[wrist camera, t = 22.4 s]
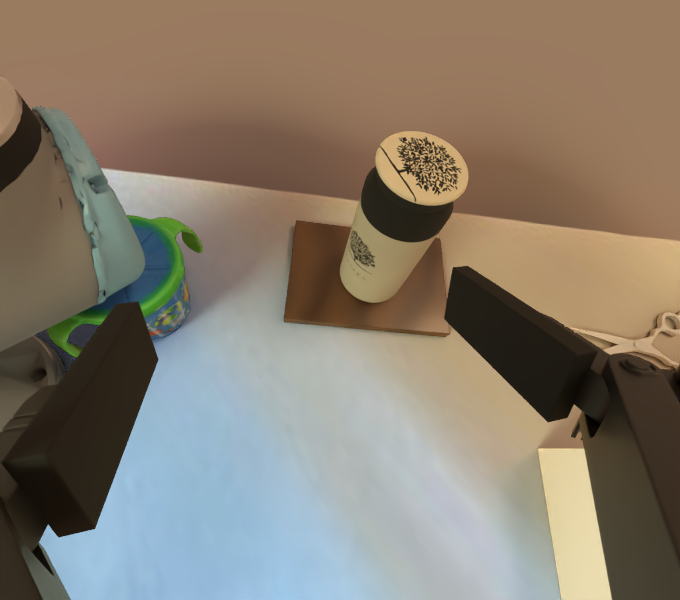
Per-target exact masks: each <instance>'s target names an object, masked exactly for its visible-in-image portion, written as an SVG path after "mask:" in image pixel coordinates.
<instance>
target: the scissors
mask: <svg viewBox="0 0 680 600" xmlns="http://www.w3.org/2000/svg"><path fill="white" fill-rule="evenodd" d="M666 317H668V318H670V319H672V320H673V321H674V322H675V324H676V329H671V328H670V327H668V326H667V325H666V322H665V318H666ZM657 325H658V326H657V328H656V329H652V330H650V335H649V337H646V338H642V339H637V340H629V339H625V338H621V337H617V336H613V335H608V334H603V333H597V332H592V331H587V330H582V329H576V328H571V329H574V330H577V331H580V332H583V333H586V334H589V335H592V336H594V337H598V338H601V339H604V340H607V341H610V342H612V343H615V344H619V345H616V346H613V347H610V348H607V349H603V351H605V352H607V353H608V354H617V353H625V352H632V351H636V352H639V353H643V354H647V355H650V356H653V357H656V358H658V359H660V360H661V361H662V362H663V363H664V364H665V365H668V366H673V367H674V368H675V369H677V367H678V366H679V364H680V363H677V362H674V361H672V360H670V359H669V358H667V357H666V356H664V355H663V354H662V353H660V352H659V351H658V350H657V349H656V348H654V347H653V346H651V344H652V342H653V341H654V339H655V338H656V336H657V334H658V333H659V332H666V333H668V334H669V335H671V336H674V335H677V334H680V311H679V312H678V314H677V315H676V314H674V313H671V312H667V313H663V314H660V315H659V316H658V318H657ZM568 328H569V327H568Z"/></svg>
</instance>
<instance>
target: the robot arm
mask: <svg viewBox="0 0 680 600" xmlns="http://www.w3.org/2000/svg"><path fill="white" fill-rule="evenodd" d="M144 267H145V257H144V253H143V250H142V247H141V245H140V242H139V240H138V238H137V236H136V234H135V232H134V229H133V227H132V225H131V223H130V221H129V219H128V217H127V215H126V213H125V211H124V209H123V207H122V206H121V204H120V202H119V200H118V198H117V196H116V195H115V193H114V191H113V190H112V188H111V187H110V186H109V185H108V181H107V179H106V177H105V176H104V174H103V172H102V170H101V168H100V166H99V164H98V162H97V160H96V158H95V157H94V155H93V153H92V151H91V150H90V148H89V146H88V145H87V143H86V141H85V140H84V138H83V137H82V135H81V133H80V132H79V130H78V129H77V127H76V126H75V124H74V123H73V122H72V120H71V119H70V118H69V117H68V115H67V114H66V113H64V112H63V111H61V110H60V109H57V108H44V107H42V106H40V107H34V108H32V111H31V109H30V108H29V107H28V105H27V104H26V103H25V101H24V100H23V99H22V98H21V96H20V95H19V93H18V92H17V91H16V89H15V88H14V87H13V86H12V84H11V83H10V82H9V81H8V80H6V79H5V78H4V77H2V76H1V75H0V600H71V599H70V597H69V595H68V594H67V592H66V590H65V588H64V586H63V584H62V582H61V580H60V578H59V576H58V574H57V572H56V570H55V569H54V567H53V565H52V563H51V561H50V559H49V557H48V555H47V553H46V551H45V549H44V548H43V547H42V546H41V544H40V543H39V541H40V539H41V537H42V535H43V533H44V531H45V529H46V527H47V525H48V524H49V526H50V527H51V528H52V530H53V531H54V532H55V533H56V535H57V536H58V537H62V536H66V535H71V534H75V533H79V532H83V531H88V530H92V529H95V527H96V525H97V522H98V519H99V517H100V514H101V511H102V509H103V506H104V503H105V501H106V498H107V495H108V493H109V490H110V487H111V485H112V482H113V479H114V477H115V474H116V471H117V469H118V466H119V463H120V461H121V458H122V455H123V453H124V450H125V447H126V445H127V442H128V439H129V437H130V434H131V431H132V429H133V426H134V423H135V421H136V418H137V415H138V413H139V410H140V407H141V405H142V402H143V399H144V396H145V394H146V391H147V388H148V386H149V383H150V380H151V378H152V375H153V372H154V370H155V367H156V364H157V362H158V357H157V354H156V351H155V348H154V345H153V342H152V339H151V336H150V333H149V330H148V327H147V324H146V322H145V319H144V316H143V313H142V310H141V307H140V304H139V301H137V302H128V303H119V304H115V306H114V307H113V309H112V310H111V311H110V313H109V314H108V315H107V317H106V318H105V320H104V321H103V322H102V324H101V325H100V326H99V328H98V329H97V331H96V332H95V333H94V335H93V336H92V338H91V339H90V340H89V342H88V343H87V344H86V346H85V347H84V349H83V350H82V351H81V353H80V354H79V355H78V357H77V358H76V360H75V361H74V362H73V364H72V365H71V367H70V368H69V369H68V371H67V372H66V371H65V367H64V364H63V362H62V360H61V358H60V356H59V355H58V353H57V352H56V351H55V350H54V349H53V348H52V346H50V345H49V344H48V343H47V342H45V341H44V340H42V339H40V338H38V337H36V336H34V335H35V334H37V333H39V332H42V331H44V330H46V329H48V328H50V327H52V326H54V325H56V324H58V323H60V322H62V321H64V320H66V319H68V318H70V317H72V316H74V315H76V314H78V313H80V312H82V311H84V310H86V309H88V308H90V307H92V306H94V305H98V304H100V303H102V302H104V301H105V300H106V298H107V297H108V296H110V295H112V294H113V293H115V292H117V291H119V290H120V289H122V288H124V287H125V286H127V285H129V284H131V283H132V282H134V281H135V280H137V279H138V278H139V277H140V275H141V274H142V272H143V270H144ZM444 319H445V320H446V321H447V322H448V323H449V324H450V325H451V326H452V327H453V328H454V329H455V330H456V331H457V332H458V333H459V334H460V335H461V336H462V337H463V338H464V339H465V340H466V341H467V342H468V343H469V344H470V345H471V346H472V347H473V348H474V349H475V350H476V351H477V352H478V353H479V354H480V355H481V356H482V357H483V358H484V359H485V360H486V361H487V362H488V363H489V364H490V365H491V366H492V367H493V368H494V369H495V370H496V371H497V372H498V373H499V374H500V375H501V376H502V377H503V378H504V379H505V380H506V381H507V382H508V383H509V384H510V385H511V386H512V387H513V388H514V389H515V390H516V391H517V392H518V393H519V394H520V395H521V396H522V397H523V398H524V399H525V400H526V401H527V402H528V403H529V404H530V405H531V406H532V407H533V408H534V409H535V410H536V411H537V412H538V413H539V414H540V415H541V416H542V417H543V418H544V419H545V420H546V421H547V422H552V421H556V420H560V419H564V418H567V417H568V415H569V413H570V411H571V409H572V407H573V405H574V404H575V405H576V406H577V407H578V408H580V409H581V410H582V413H581V415H580V417H579V419H578V421H577V423H576V425H575V427H574V429H573V431H572V435H571V437H573V438H575V437H576V435H577V433H578V432H580V431H581V434H582V438H581V440H583V445H584V450H585V456H586V461H587V466H588V472H589V477H590V483H591V488H592V494H593V499H594V505H595V510H596V515H597V521H598V526H599V532H600V537H601V543H602V548H603V554H604V559H605V564H606V570H607V575H608V581H609V586H610V592H611V597H612V600H680V364H679V366H678V367H677V369H676V370H665V369H659V368H658V367H657V366H655V365H654V364H652V363H651V362H649V361H646V360H644V359H642V358H640V357H636V356H633V355H630V354H622V353H617V354H612V355H610V354H608V353H607V352H605V351H603V350H602V349H600V348H599V347H597V346H596V345H594V344H593V343H591V342H589V341H588V340H586V339H585V338H583V337H582V336H580V335H578V334H577V333H574V331H572V330H571V329H569V328H568V327H564V325H563V324H561V323H560V322H558V321H557V320H555V319H553V318H552V317H549V316H547V315H544V314H542V313H539V312H538V311H536V310H535V309H533V308H532V307H530V306H529V305H527V304H525V303H524V302H522V301H521V300H519V299H518V298H516V297H515V296H513V295H512V294H510V293H509V292H507V291H505V290H504V289H502V288H501V287H499V286H498V285H496V284H495V283H493V282H492V281H490V280H489V279H487V278H485V277H484V276H482V275H481V274H479V273H478V272H476V271H475V270H473V269H472V268H470V267H469V266H462V267H453V270H452V275H451V281H450V287H449V293H448V298H447V304H446V310H445V316H444Z"/></svg>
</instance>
